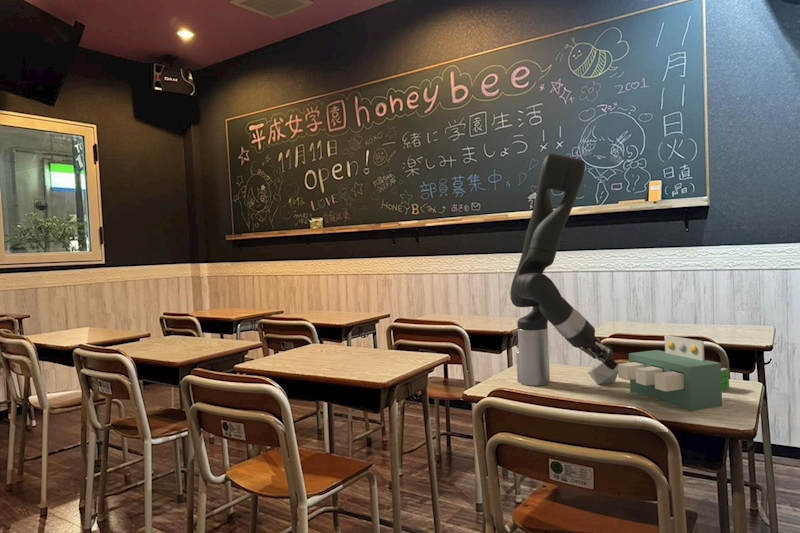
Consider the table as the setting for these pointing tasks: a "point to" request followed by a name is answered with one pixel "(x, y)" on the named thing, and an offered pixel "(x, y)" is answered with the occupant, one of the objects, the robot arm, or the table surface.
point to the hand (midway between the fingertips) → (613, 366)
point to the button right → (669, 381)
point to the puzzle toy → (725, 378)
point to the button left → (628, 370)
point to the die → (602, 373)
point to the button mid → (647, 375)
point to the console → (688, 360)
